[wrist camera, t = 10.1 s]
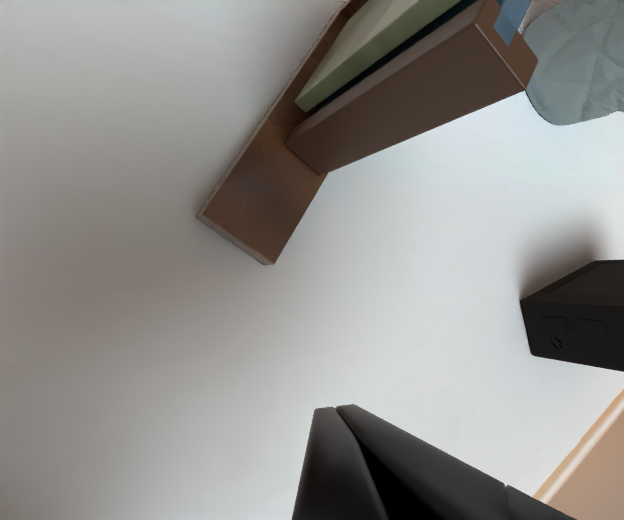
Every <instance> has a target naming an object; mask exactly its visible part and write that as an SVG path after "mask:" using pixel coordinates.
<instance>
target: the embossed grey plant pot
mask: <svg viewBox="0 0 624 520" xmlns="http://www.w3.org/2000/svg"><path fill="white" fill-rule="evenodd" d="M523 39H524V40H525V41H526V43H527V44H528V46H529V47H530V48H531V50H532V51H533V53H534V54H535V55H536V57H537V58H538V63H537V66H536V68H535V70H534V72H533V75H532V77H531V79H530V81H529V84H528V86H527V88H526V92H527V94H528V97H529V99H530V101H531V103H532V104H533V106H534V107H535V109H536V110H537V112H538V113H539V114H540V115H541V116H542V117H543V118H544V119H546V120H547V121H548V122H550V123H552V124H555V125H570V124H575V123H578V122H583V121H587V120H591V119H595V118H600V117H603V116H607V115H609V114H610V113H613V112H616V111H621V112H624V0H564V1H563V2H561V3H559V4H557V5H556V6H554V7H553V8H552V9H550V10H548V11H546V12H544V13H543V14H541V15H540V16H538V17H537V18H535V19H534V20H533V21H532V22H531V23H530V24H529V25H528V27H527V28H526V30H525V32H524V34H523Z"/></svg>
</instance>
